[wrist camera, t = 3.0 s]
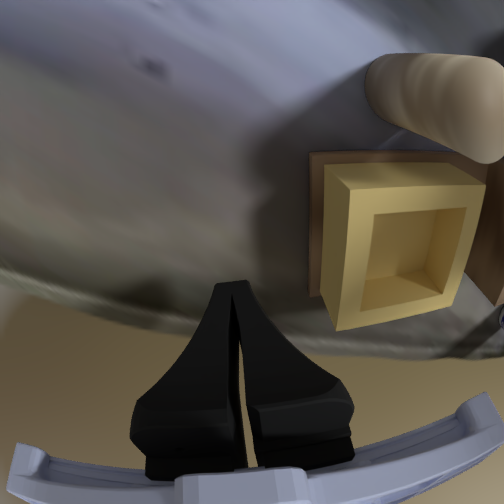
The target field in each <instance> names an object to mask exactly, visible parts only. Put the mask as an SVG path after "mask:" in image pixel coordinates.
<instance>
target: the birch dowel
mask: <svg viewBox="0 0 504 504" xmlns="http://www.w3.org/2000/svg"><path fill="white" fill-rule="evenodd" d="M365 94H366V98H367V101H368V103H369V105H370V107H371V108H372V110H373V111H374V112H375V113H376V114H377V115H378V116H379V117H380V118H381V119H383V120H385V121H387V122H389V123H392V124H394V125H397V126H399V127H402V128H404V129H407V130H409V131H412V132H414V133H417V134H419V135H421V136H424V137H426V138H428V139H431V140H433V141H435V142H437V143H440V144H442V145H444V146H446V147H448V148H450V149H452V150H454V151H456V152H458V153H460V154H462V155H464V156H466V157H468V158H470V159H472V160H474V161H476V162H479V163H483V164H489V163H493V162H496V161H498V160H499V159H501V158H502V157H503V156H504V67H503V66H501V65H500V64H499V63H498V62H496V61H495V60H492V59H490V58H486V57H477V56H466V55H452V54H430V53H396V54H386V55H383V56H380V57H379V58H377V59H376V60H375V61H374V62H373V63H372V64H371V65H370V67H369V69H368V71H367V74H366V77H365Z"/></svg>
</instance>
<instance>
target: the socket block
mask: <svg viewBox="0 0 504 504" xmlns="http://www.w3.org/2000/svg"><path fill="white" fill-rule="evenodd" d="M485 189H486V185H485V184H484V183H482V182H480V181H479V180H477V179H476V178H474V177H472V176H471V175H469V174H467V173H465V172H464V171H462V170H460V169H458V168H457V167H455V166H453V165H451V164H450V163H434V162H384V163H349V164H328V165H324V218H323V245H322V265H321V281H320V293H321V295H322V298H323V300H324V303H325V305H326V308H327V310H328V313H329V315H330V318H331V320H332V323H333V325H334V328H335V330H336V331H341V330H346V329H352V328H357V327H362V326H367V325H372V324H377V323H382V322H386V321H391V320H395V319H400V318H404V317H408V316H413V315H417V314H421V313H425V312H429V311H433V310H437V309H441V308H444V307H448V306H451V305H452V303H453V300H454V297H455V295H456V292H457V289H458V287H459V284H460V281H461V278H462V275H463V272H464V269H465V266H466V263H467V260H468V256H469V253H470V250H471V246H472V243H473V239H474V236H475V232H476V228H477V224H478V220H479V216H480V212H481V208H482V203H483V199H484V194H485Z"/></svg>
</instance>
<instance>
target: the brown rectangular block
mask: <svg viewBox="0 0 504 504" xmlns="http://www.w3.org/2000/svg"><path fill="white" fill-rule="evenodd" d="M384 162H434V163H450V164H451V165H453V166H455V167H457V168H458V169H460V170H462V171H464V172H465V173H467V174H469V175H471V176H472V177H474V178H476V179H477V180H479V181H480V182H482V183H484V184H485V185H486V189H485V194H484V199H483V203H482V208H481V212H480V216H479V220H478V224H477V228H476V232H475V236H474V239H473V243H472V246H471V250H470V253H469V256H468V260H467V263H466V266H465V269H464V272H465V273H466V274H467V275H468V277H469V278H470V279H471V280H472V281H473V282H474V283H475V284H476V286H477V287H478V288H479V289H480V290H481V291H482V292H483V294H484V295H485V296H486V297H487V298H488V299H489V301H490V302H491V303H492V304H493V305H494V307H495V306H498V305H501V304H504V159H503V158H501V159H499V160H498V161H496V162H493V163H489V164H483V163H479V162H476V161H474V160H472V159H470V158H468V157H466V156H464V155H462V154H460V153H458V152H443V151H416V150H352V151H324V152H309V268H308V294H309V297H310V298H311V297H318V296H322V295H321V293H320V281H321V265H322V245H323V218H324V165H328V164H349V163H384Z"/></svg>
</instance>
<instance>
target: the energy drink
mask: <svg viewBox="0 0 504 504" xmlns="http://www.w3.org/2000/svg"><path fill="white" fill-rule="evenodd" d="M499 324H500V325H501V327H502V328H503V329H504V307H503V308H502V310H501V313H500V316H499Z"/></svg>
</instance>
